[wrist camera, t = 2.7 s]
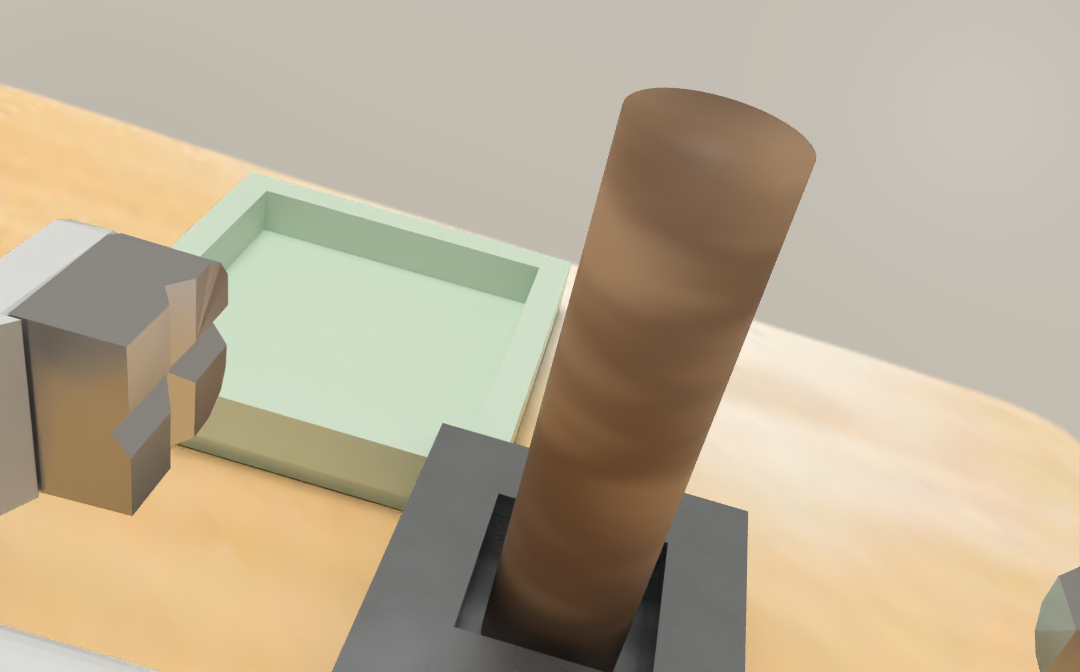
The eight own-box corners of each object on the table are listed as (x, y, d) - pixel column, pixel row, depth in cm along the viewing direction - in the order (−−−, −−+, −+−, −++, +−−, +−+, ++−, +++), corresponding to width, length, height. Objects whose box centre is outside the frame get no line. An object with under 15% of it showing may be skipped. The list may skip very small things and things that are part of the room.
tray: (63, 410, 33) (59, 349, 32) (248, 222, 45) (251, 172, 44) (483, 534, 33) (497, 477, 31) (558, 310, 45) (571, 262, 43)
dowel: (466, 676, 28) (610, 138, 19) (498, 570, 31) (633, 72, 22) (607, 718, 27) (820, 196, 19) (624, 608, 31) (812, 121, 22)
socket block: (318, 749, 25) (330, 675, 24) (428, 490, 34) (442, 422, 32) (703, 867, 25) (742, 800, 23) (718, 576, 33) (747, 511, 32)
